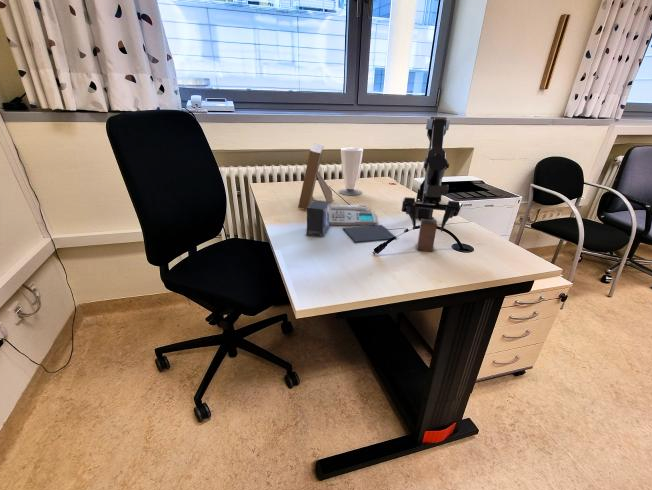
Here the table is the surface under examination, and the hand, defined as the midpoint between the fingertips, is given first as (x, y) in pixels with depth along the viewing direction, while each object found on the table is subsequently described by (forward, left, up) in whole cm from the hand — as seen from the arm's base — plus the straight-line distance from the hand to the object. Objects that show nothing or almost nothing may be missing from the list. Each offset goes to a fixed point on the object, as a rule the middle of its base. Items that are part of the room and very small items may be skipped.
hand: (427, 229), depth 112 cm
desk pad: (+13, -18, -7) cm, 24 cm away
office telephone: (+13, -39, -7) cm, 42 cm away
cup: (+1, -77, -7) cm, 77 cm away
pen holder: (-1, -1, -7) cm, 7 cm away
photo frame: (+23, -61, -7) cm, 65 cm away
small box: (+31, -25, -7) cm, 41 cm away
